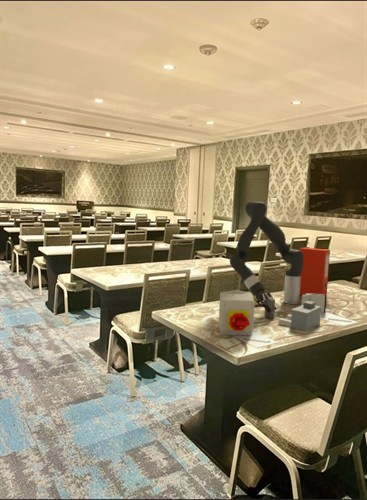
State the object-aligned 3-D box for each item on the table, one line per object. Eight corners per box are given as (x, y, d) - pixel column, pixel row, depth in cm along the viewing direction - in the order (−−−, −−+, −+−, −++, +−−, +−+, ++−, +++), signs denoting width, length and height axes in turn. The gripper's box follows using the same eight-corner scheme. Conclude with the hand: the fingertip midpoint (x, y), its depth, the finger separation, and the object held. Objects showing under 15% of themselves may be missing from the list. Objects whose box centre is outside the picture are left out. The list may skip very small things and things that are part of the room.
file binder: (301, 293, 253) (304, 247, 249) (326, 297, 242) (329, 249, 238) (296, 295, 247) (299, 248, 243) (321, 299, 236) (325, 250, 232)
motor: (295, 315, 200) (297, 295, 199) (322, 321, 190) (324, 300, 189) (278, 323, 186) (279, 302, 184) (306, 331, 176) (307, 308, 174)
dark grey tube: (267, 315, 200) (268, 296, 198) (275, 317, 196) (276, 297, 195) (262, 317, 196) (263, 297, 194) (271, 319, 192) (272, 299, 191)
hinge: (301, 312, 207) (302, 295, 206) (299, 310, 212) (300, 293, 211) (326, 313, 206) (327, 296, 205) (323, 310, 211) (324, 293, 210)
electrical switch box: (221, 343, 164) (223, 302, 158) (218, 328, 178) (220, 289, 173) (254, 344, 164) (257, 303, 158) (248, 328, 178) (251, 290, 173)
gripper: (251, 283, 193) (270, 309, 187) (265, 279, 204) (283, 304, 197) (242, 291, 198) (261, 317, 191) (256, 287, 208) (274, 312, 202)
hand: (272, 310), depth 194 cm, fingers closed on dark grey tube, 5 cm apart
